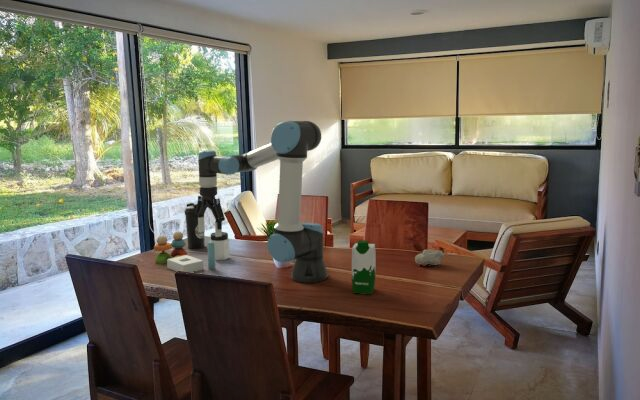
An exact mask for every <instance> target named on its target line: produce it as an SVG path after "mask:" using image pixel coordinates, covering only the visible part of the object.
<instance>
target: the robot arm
mask: <svg viewBox="0 0 640 400" xmlns="http://www.w3.org/2000/svg"><path fill="white" fill-rule="evenodd" d="M321 141H322V132H321V130H320V126H318V125H317V124H316V123H315V122H313V121H310V120H287V121H282V122H279V123H277V124H276V125H275V126H274V127H273V129H272V131H271V134H270V143H268V144H265V145H262V146H260V147H258V148H255V149H253V150H250V151H248V152H245V153H243V154H236V155H217V152H216V151H215V150H199V152H198V154H197V155H198V160H197V161H198V181H199V182H198V185H199V195H198V196H197V203H196V204H197V206H196V210H195V215H197V217H198V230H199V232H204V231H206V230H205V226H206V225H205V214H204V213H206V211H207V209H209V210H210V211H211V213H212V215H213V217H214V219H215V222H214V226H215V227H214V229H215V230H214V231H215V232H214V233H215V235H216V237H220V236H222V232H223V231H222V230H223V229H222V225H223V223H222V222H223V221H226V218H225V215H224V211H223V208H222V205H221V199H220V198H216V196H217V195H218V186H217V185H218V181H217V180H218V177H217V176H218V175H217V174H222V175H227V176H228V175H230V176H231V175H235V174H236V173H243V172H252V171H255V170H257V169H258V168H259V167H261V166H264V165H266V164H270V163H271V162H275V161H277V160H279V180H278V181H279V182H278V183H279V185H278V186H279V187H278V207H277V208H278V211H277V213H278V214H277V216H278V217H277V222H276V223H275V224H274V225H273V234H271V235H270V236H269V237H268V239H267V243H266V246H267V247H266V248H267V250H268V253H269V256H271V257H272V259H273V260H275V261H277V262H278V263H289V262H292V261H294V263H293V267H292V270H291V273H290V275H291V279H292V280H293V281H295V282H297V283H307V284H308V283H309V284H310V283H311V284H312V283H319V281H320V282H323V281H326V280H327V279H328V278H327V277H328V275H329V274H328V270H327V266H326V264H325V260H324V228H323V225H322V224H320V223H316V222H301V211H302V210H301V209H302V207H301V206H302V189H303V188H302V187H303V165H304V164H303V163H304V161H306V160H307V159H308V152H309V151H313V150H315V149H316V148H317V147H319V145H320V143H321ZM203 216H204V217H203ZM204 233H205V232H204ZM326 278H327V279H326ZM325 279H326V280H325Z"/></svg>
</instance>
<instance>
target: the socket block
mask: <svg viewBox="0 0 640 400" xmlns="http://www.w3.org/2000/svg"><path fill="white" fill-rule="evenodd" d="M188 255H189V254H187V255H185V256H180V257H175V256H174V257H175V258H174V257H171V259H167V260H166V266H167V269H169V270H172V271H174V272H177V271H187V272H191V273H195V272H198V271H203V270H205V269H204V267H205V266H204V260H203V259H200V258H197V257H194V256H192V255H190V256H188ZM194 271H195V272H194Z"/></svg>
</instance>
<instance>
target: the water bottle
mask: <svg viewBox="0 0 640 400" xmlns="http://www.w3.org/2000/svg"><path fill="white" fill-rule="evenodd" d="M196 206H197V203H194V202H190V203H187V204H186V208H185V209H184V215H185V216H184V217H185V227H186V238H187V249H189V250H199V249H203V248H205V247H206V246H205V245H206V244H205V231H206V230H205V231H204V232H199V230H198V217H197V215H195V210H196ZM205 213H206V212H205ZM205 213H204V216H203V217H204V218H205Z"/></svg>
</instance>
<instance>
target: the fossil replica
mask: <svg viewBox="0 0 640 400" xmlns="http://www.w3.org/2000/svg"><path fill="white" fill-rule="evenodd" d="M444 255H445V254H444V252H443V250H439V249H424V250H422V252H420V253H419V254H417V255H415V257H414V260H415V263H416V264H417V263H418V264H434V265H436V264H439V265H440V264H441V261H442V258H444ZM418 264H417V265H418Z"/></svg>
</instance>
